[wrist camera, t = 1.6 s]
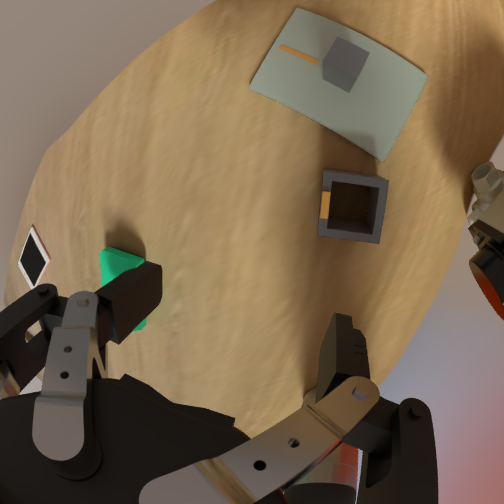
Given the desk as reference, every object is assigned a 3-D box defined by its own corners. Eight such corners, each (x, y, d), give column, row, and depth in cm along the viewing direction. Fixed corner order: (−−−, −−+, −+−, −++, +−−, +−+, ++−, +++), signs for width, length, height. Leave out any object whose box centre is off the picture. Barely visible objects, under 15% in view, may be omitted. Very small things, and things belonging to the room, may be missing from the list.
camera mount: (110, 242, 38) (62, 268, 29) (148, 256, 37) (101, 288, 28) (114, 305, 43) (77, 336, 34) (149, 321, 42) (113, 358, 32)
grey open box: (378, 175, 26) (389, 180, 21) (370, 229, 28) (379, 245, 23) (323, 168, 27) (323, 171, 22) (318, 222, 29) (317, 237, 24)
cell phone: (20, 262, 51) (17, 264, 50) (34, 224, 43) (31, 225, 42) (35, 291, 52) (33, 292, 51) (52, 258, 45) (49, 259, 44)
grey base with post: (425, 78, 20) (450, 61, 14) (381, 161, 25) (398, 164, 19) (298, 11, 21) (290, -20, 14) (250, 90, 26) (229, 74, 20)
